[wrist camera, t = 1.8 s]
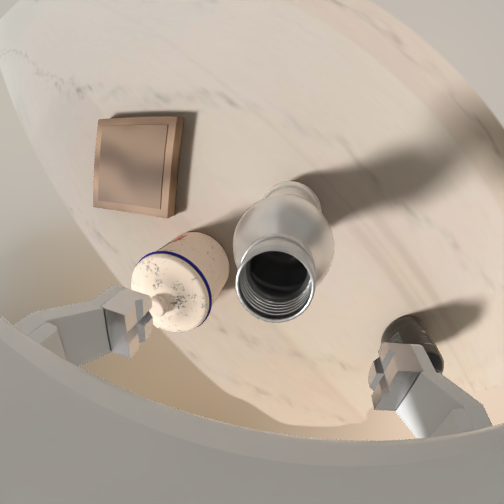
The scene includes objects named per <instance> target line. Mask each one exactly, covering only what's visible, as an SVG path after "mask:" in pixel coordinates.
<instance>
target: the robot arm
mask: <svg viewBox="0 0 504 504" xmlns="http://www.w3.org/2000/svg"><path fill="white" fill-rule="evenodd" d="M151 308H152V298H151V297H150V296H149V295H146V294H143V293H140V292H137V291H134V290H131V289H127V288H125V287H121V286H118V285H113V286H111V287H110V288H108V289H107V290H106V291H104V292H103V293H101V294H100V295H99V296H98V297H96V298H95V299H93V300H92V301H90V302H81V303H77V304H71V305H66V306H61V307H56V308H51V309H46V310H40V311H35V312H32V313H31V314H29V315H28V316H26V317H25V318H23V319H22V320H21V321H19V322H18V323H16V324H15V325H11V324H10V323H9V322H8V321H6V320H5V319H4V318H2V317H1V316H0V504H504V423H503V424H499V425H495V426H493V425H492V423H491V421H490V419H489V417H488V415H487V413H486V411H485V409H484V407H483V405H482V404H481V403H479V402H478V401H477V400H475V399H474V398H473V397H472V396H470V395H469V394H468V393H466V392H465V391H464V390H462V389H461V388H460V387H458V386H457V385H456V384H454V383H453V382H451V381H450V380H449V379H447V378H446V377H445V376H443V375H442V374H441V373H436V371H435V369H434V367H433V365H432V363H431V361H430V359H429V357H428V355H427V353H426V351H425V350H424V348H423V346H421V345H418V344H399V343H387V342H384V343H383V344H382V345H381V347H380V349H379V351H378V353H379V356H380V357H379V358H378V359H376V360H375V361H373V364H372V366H371V368H370V372H369V386H370V388H371V389H372V390H373V391H374V392H373V394H372V401H373V406H374V410H390V411H396V413H397V414H398V416H399V417H400V418H401V419H402V420H403V422H404V423H405V424H406V425H407V427H408V428H409V429H410V430H411V431H412V433H413V434H414V435H415V436H416V438H417V439H408V440H390V441H389V440H388V441H354V440H333V439H320V438H310V437H301V436H293V435H286V434H279V433H273V432H267V431H262V430H256V429H251V428H246V427H242V426H237V425H233V424H228V423H224V422H220V421H216V420H212V419H209V418H205V417H202V416H198V415H195V414H192V413H188V412H185V411H182V410H179V409H176V408H173V407H170V406H167V405H164V404H161V403H158V402H156V401H153V400H151V399H148V398H145V397H143V396H140V395H138V394H135V393H133V392H130V391H128V390H126V389H123V388H121V387H119V386H117V385H114V384H112V383H110V382H108V381H106V380H104V379H102V378H100V377H98V376H95V375H94V374H92V373H90V372H88V371H86V370H84V369H82V368H80V367H78V366H81V365H83V364H85V363H88V362H90V361H92V360H94V359H97V358H99V357H102V356H104V355H106V354H108V353H110V352H114V353H117V354H119V355H122V356H124V357H127V358H130V359H131V358H132V356H133V355H134V354H135V353H136V352H137V351H138V349H139V348H140V346H139V343H141V342H143V341H146V340H147V339H148V337H149V336H150V333H151V331H152V327H153V317H152V315H151V314H150V312H149V310H150V309H151Z"/></svg>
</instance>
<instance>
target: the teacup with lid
mask: <svg viewBox="0 0 504 504" xmlns="http://www.w3.org/2000/svg"><path fill="white" fill-rule="evenodd" d="M228 276H229V261H228V257H227V255H226V253H225V251H224V249H223V248H222V246H221V245H220V244H219V243H218V242H217V241H216V240H214V239H213V238H212V237H210V236H208V235H206V234H203V233H198V232H189V233H184V234H182V235H180V236H178V237H177V238H175V239H174V240H172V241H171V242H169V243H168V244H166V245H165V246H163V247H162V248H160V249H159V250H157V251H156V252H152V253H150V254H147V255H146V256H144V257H143V258H142V259H141V260H140V261H139V262H138V264H137V265H136V267H135V269H134V272H133V275H132V281H131V287H132V290H134V291H137V292H140V293H143V294H146V295H149V296H150V297H151V298H152V308H151V309H150V310H149V312H150V314H151V315H152V317H153V324H154V325H155V326H156V327H157V328H163V329H165V330H168V331H173V332H185V331H190V330H192V329H195V328H196V327H198V326H200V325H201V324H202V323H203V322H204V321H205V320H206V319H207V317H208V315H209V313H210V310H211V306H212V304H213V303H214V301H215V300H216V298H217V296H218V295H219V293H220V291H221V290H222V288H223V286H224V285H225V283H226V281H227V279H228Z"/></svg>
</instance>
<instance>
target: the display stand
mask: <svg viewBox="0 0 504 504" xmlns="http://www.w3.org/2000/svg"><path fill="white" fill-rule="evenodd" d="M183 123H184V118H180V117H173V116H161V117H128V118H112V119H100V120H98V128H97V138H96V149H95V164H94V194H93V207H97V208H104V209H111V210H117V211H124V212H130V213H137V214H143V215H149V216H156V217H162V218H169V217H171V216H173V215H175V200H176V188H177V176H178V166H179V156H180V147H181V139H182V131H183Z"/></svg>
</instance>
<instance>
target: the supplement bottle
mask: <svg viewBox="0 0 504 504" xmlns="http://www.w3.org/2000/svg"><path fill="white" fill-rule="evenodd" d="M384 342H387V343H399V344H418V345H421V346H423V348H424V350H425V351H426V353H427V355H428V357H429V359H430V361H431V363H432V365H433V367H434V369H435V371H436V373H441V374H442V372H443V369H444V360H443V358H442V355H441V354H440V352H439V350H438V348H437V346H436V345H435V343H434V341H433V339H432V338H431V336H430V334H429V332H428V331H427V329H426V327H425V326H424V324H423V323H422V322H421V321H420V320H419V319H418V318H415V317H402V318H400V319H397V320H396V321H394V322H392V323H391V324H390V325H389V326H388V327H387V328H386V330H385V331H384V333H383V336H382V340H381V345H382V344H383V343H384Z"/></svg>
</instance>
